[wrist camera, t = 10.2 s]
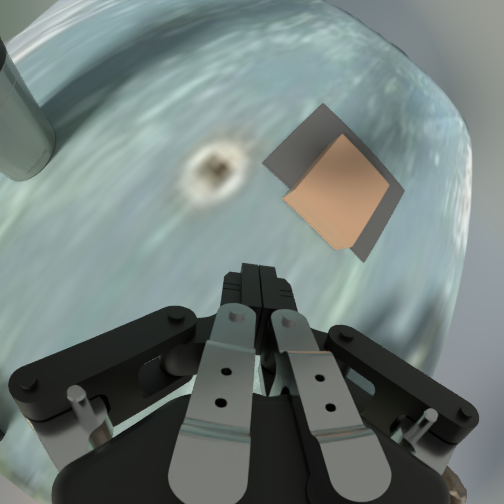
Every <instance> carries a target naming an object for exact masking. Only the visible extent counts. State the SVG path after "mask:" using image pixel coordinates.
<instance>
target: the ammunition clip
mask: <svg viewBox="0 0 504 504" xmlns="http://www.w3.org/2000/svg"><path fill="white" fill-rule="evenodd" d="M4 436H5V434H4V433H3V432H2V431H1V430H0V441H1V440H2V439H3V437H4Z"/></svg>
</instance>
